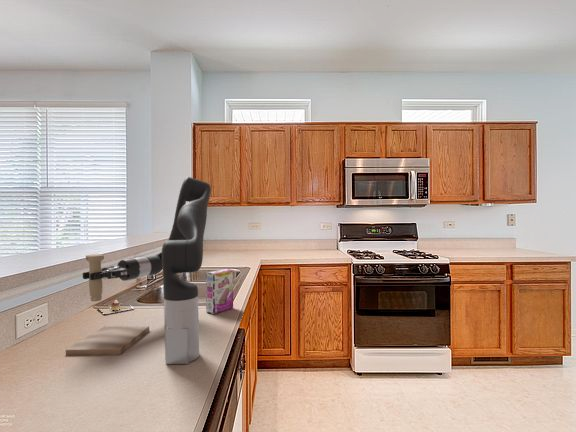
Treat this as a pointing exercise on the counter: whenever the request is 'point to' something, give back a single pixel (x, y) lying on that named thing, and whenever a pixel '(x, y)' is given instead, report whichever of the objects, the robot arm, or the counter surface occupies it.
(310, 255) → the counter surface
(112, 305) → the dessert
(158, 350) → the counter surface
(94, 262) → the handle
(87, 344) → the walnut board
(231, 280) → the candy bar box
